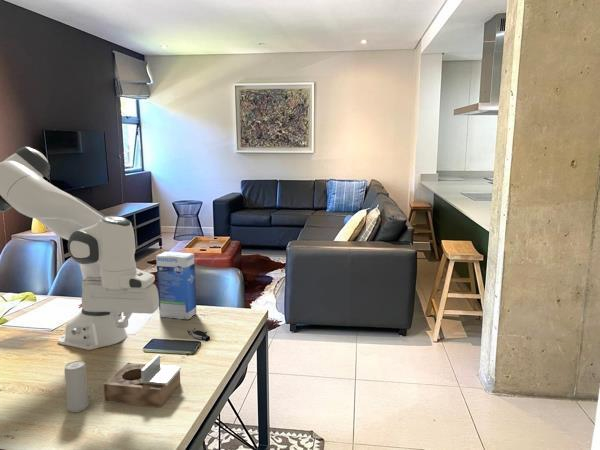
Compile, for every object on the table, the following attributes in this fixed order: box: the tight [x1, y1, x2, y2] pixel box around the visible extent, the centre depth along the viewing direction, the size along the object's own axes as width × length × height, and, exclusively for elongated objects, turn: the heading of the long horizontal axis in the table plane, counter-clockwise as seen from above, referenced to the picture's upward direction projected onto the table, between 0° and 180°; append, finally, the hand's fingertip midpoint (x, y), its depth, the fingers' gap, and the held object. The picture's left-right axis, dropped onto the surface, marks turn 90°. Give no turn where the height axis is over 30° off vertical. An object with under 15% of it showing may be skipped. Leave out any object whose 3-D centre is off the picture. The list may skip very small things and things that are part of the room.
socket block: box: [103, 362, 181, 408], centre depth 122 cm, size 16×12×5 cm
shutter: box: [141, 354, 182, 386], centre depth 120 cm, size 7×9×4 cm
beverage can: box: [64, 360, 89, 413], centre depth 113 cm, size 5×5×12 cm
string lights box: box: [155, 251, 197, 320], centre depth 176 cm, size 13×8×26 cm, turn 77°
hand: (121, 326), depth 119 cm, fingers closed
